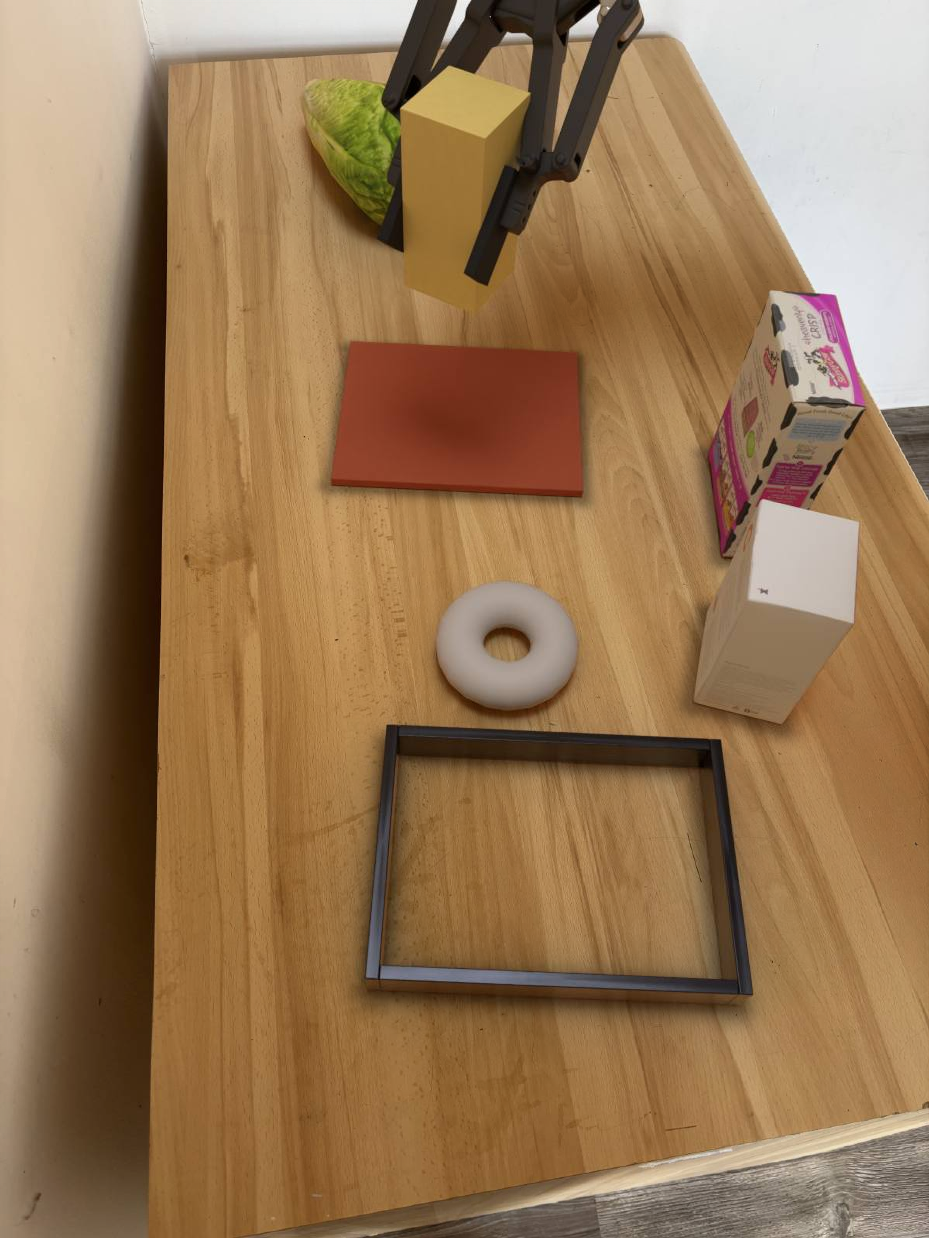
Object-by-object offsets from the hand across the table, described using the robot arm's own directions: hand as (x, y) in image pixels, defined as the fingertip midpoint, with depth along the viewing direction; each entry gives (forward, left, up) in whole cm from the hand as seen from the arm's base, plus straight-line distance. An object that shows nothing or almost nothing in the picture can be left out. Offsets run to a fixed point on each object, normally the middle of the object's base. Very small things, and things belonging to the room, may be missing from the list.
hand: (432, 262), depth 59 cm
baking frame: (-9, +32, -20) cm, 39 cm away
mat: (-2, -6, -20) cm, 21 cm away
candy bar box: (-25, +2, -20) cm, 32 cm away
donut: (-6, +17, -20) cm, 27 cm away
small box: (-23, +17, -20) cm, 35 cm away
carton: (-2, -3, -4) cm, 5 cm away
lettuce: (+8, -39, -20) cm, 45 cm away
